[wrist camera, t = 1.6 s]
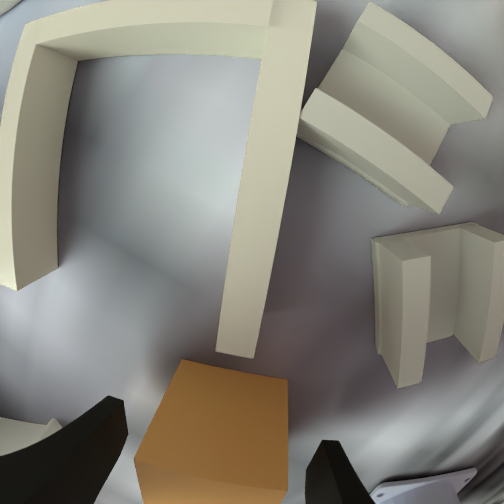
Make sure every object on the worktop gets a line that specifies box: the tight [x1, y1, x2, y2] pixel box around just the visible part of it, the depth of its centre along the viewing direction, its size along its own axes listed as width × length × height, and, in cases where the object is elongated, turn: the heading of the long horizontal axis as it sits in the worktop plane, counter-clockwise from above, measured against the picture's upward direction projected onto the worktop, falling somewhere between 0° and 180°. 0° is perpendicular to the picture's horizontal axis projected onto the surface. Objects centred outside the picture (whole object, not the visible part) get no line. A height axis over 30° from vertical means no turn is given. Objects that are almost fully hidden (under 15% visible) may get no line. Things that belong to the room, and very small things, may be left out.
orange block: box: [134, 359, 288, 504], centre depth 9 cm, size 6×4×5 cm, turn 171°
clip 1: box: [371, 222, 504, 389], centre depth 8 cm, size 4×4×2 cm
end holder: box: [0, 0, 317, 359], centre depth 8 cm, size 9×9×2 cm
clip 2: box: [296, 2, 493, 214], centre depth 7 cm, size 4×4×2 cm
